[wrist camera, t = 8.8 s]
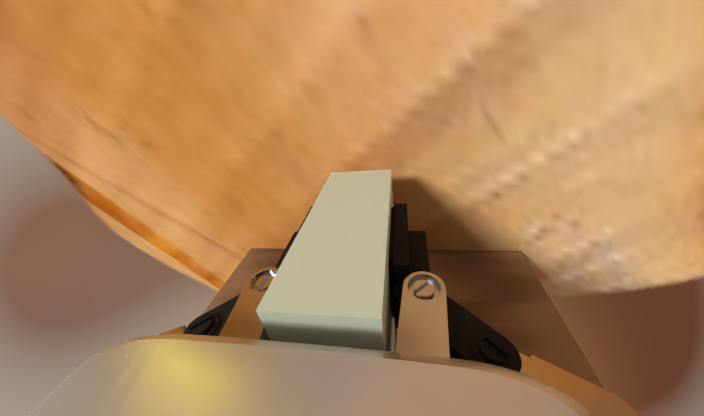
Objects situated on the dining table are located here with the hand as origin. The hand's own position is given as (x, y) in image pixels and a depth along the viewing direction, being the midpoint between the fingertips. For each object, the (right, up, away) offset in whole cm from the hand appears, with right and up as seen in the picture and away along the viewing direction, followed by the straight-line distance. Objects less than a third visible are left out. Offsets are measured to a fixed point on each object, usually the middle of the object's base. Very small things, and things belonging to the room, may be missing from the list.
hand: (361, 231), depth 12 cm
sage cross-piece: (+1, -3, +4) cm, 5 cm away
